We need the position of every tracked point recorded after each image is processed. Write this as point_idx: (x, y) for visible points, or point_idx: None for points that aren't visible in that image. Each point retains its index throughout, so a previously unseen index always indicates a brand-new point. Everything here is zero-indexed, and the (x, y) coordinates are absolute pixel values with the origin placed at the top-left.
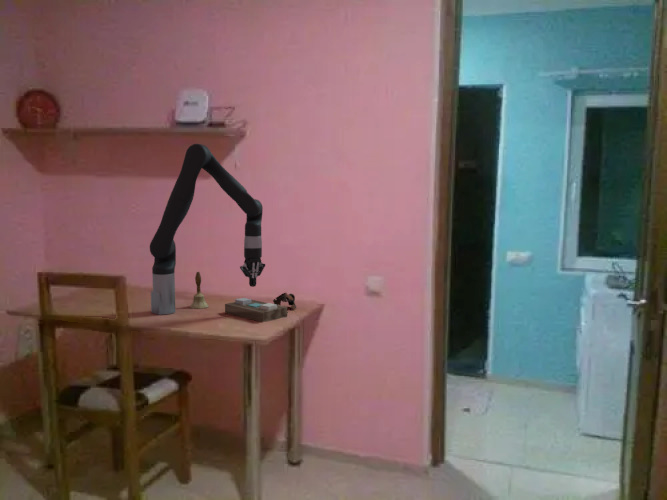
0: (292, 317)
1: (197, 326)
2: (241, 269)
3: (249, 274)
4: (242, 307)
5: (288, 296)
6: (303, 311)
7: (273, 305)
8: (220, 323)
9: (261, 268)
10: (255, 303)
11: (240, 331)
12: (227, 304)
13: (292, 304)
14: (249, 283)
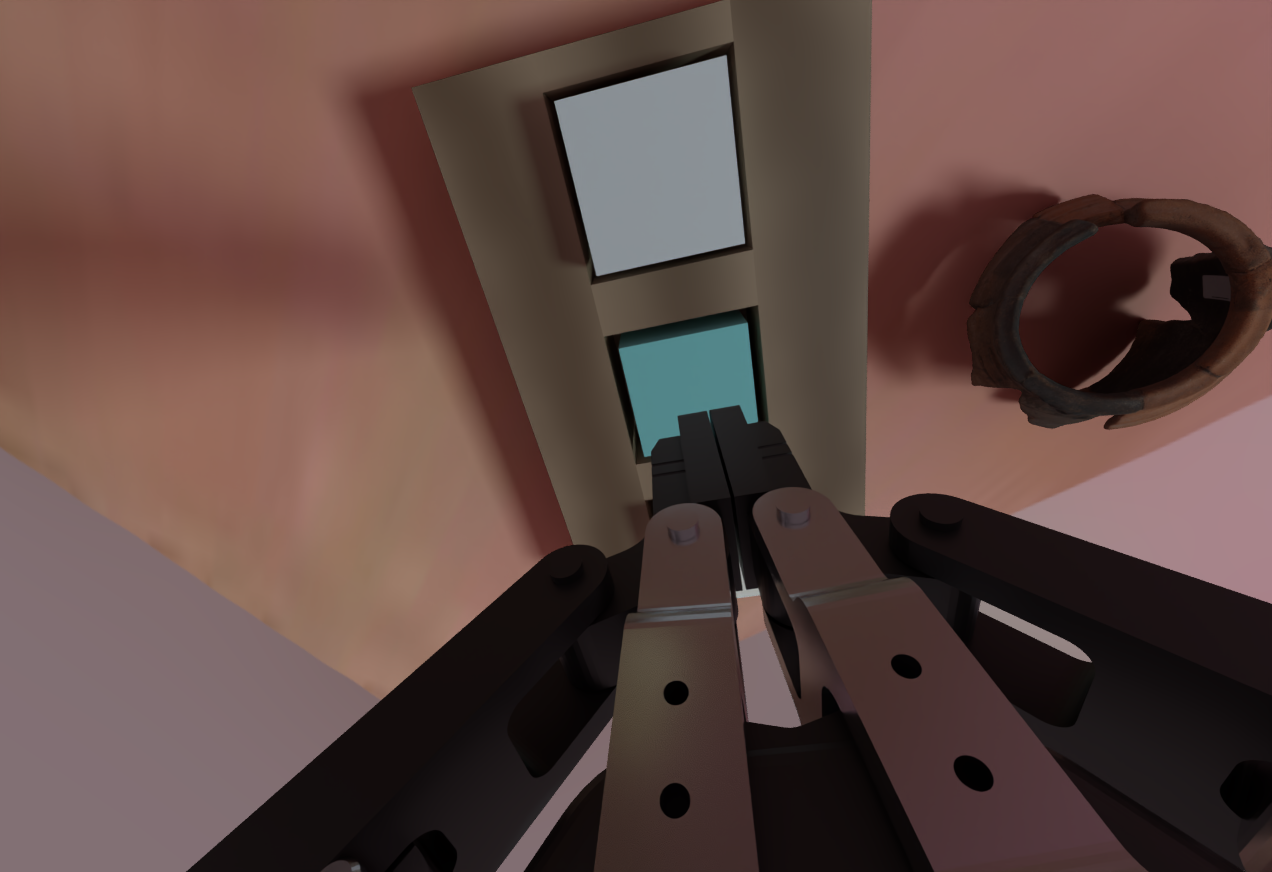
0: None
1: (140, 427)
2: (268, 834)
3: (584, 714)
4: (533, 393)
5: (1152, 411)
6: (1050, 478)
7: (737, 594)
8: (322, 443)
9: (1161, 811)
10: (728, 337)
11: (399, 638)
12: (433, 148)
13: (1182, 304)
14: (652, 465)
